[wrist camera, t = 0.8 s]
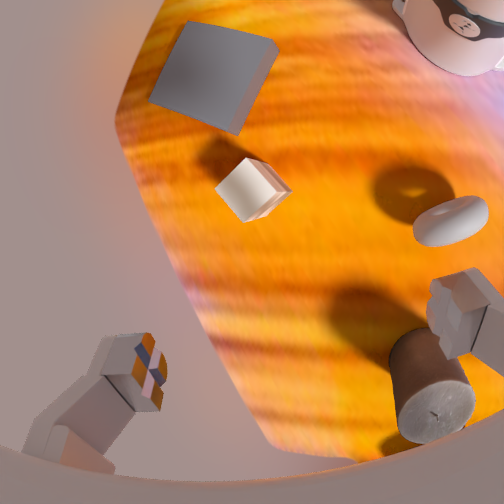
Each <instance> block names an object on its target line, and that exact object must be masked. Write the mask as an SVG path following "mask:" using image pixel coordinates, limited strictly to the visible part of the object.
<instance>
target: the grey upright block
mask: <svg viewBox="0 0 504 504" xmlns="http://www.w3.org/2000/svg"><path fill="white" fill-rule="evenodd" d="M215 190H216V191H217V192H218V194H219V195H220V196H221V197H222V198H223V200H224V201H225V202H226V203H227V204H228V205H229V207H230V208H231V209H232V210H233V211H234V213H235V214H236V215H237V216H238V217H239V218H240V220H241V221H242V222H243V223H245V222H248V221H251V220H254V219H258V218H261V217H265V216H266V215H268V214H269V213H270V212H271V211H272V210H273V209H274V208H275V207H276V206H278V205H279V204H280V203H281V202H282V201H283V200H284V199H285V198H286V197H288V196H289V195H290V194H291V193H292V192H293V191H292V190H291V189H290V188H289V186H288V185H287V184H286V183H285V182H284V181H283V180H282V178H281V177H280V176H279V175H278V174H277V173H276V172H275V171H274V170H273V168H272V167H271V166H270V165H269V164H267V163H264V162H260V161H257V160H253V159H250V158H245V159H244V160H243V161H242V162H241V163H240V164H239V165H238V166H237V167H236V168H235V169H234V170H233V171H232V172H231V173H230V174H229V175H228V176H227V177H226V178H225V179H224V180H223V181H222V182H221V183H220V184H219V185H218V186H217V187H216V188H215Z"/></svg>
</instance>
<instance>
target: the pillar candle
mask: <svg viewBox="0 0 504 504" xmlns="http://www.w3.org/2000/svg"><path fill="white" fill-rule="evenodd" d="M439 340H440V337H439V336H437V335H436V334H434V333H432V331H431V329H430V328H420V329H416V330H413V331H411V332H408V333H407V334H405V335H403V336H402V337H401V338H400V339H399V340H398V341H397V342H396V343H395V344H394V347H393V348H392V350H391V353H390V356H389V367H390V369H391V371H390V372H391V378H392V384H393V394H394V400H395V410H396V417H397V426H398V429H399V431H400V433H401V435H402V436H403V437H404V438H405V439H407V440H409V441H411V442H414V443H420V444H426V443H429V442H431V441H434V440H437V439H439V438H442V437H444V436H447V435H449V434H452V433H454V432H457V431H459V430H461V429H462V428H463V426H464V425H465V424H466V422H467V421H468V420H469V418H470V417H471V416H472V415H471V414H472V413H473V411H474V407H475V402H476V400H475V393H474V391H473V389H472V387H471V385H470V383H469V381H468V379H467V377H466V375H465V373H464V370H463V369H462V367H461V365H460V363H459V361H458V359H457V357H455V358H452V359H449V360H447V358H446V356H445V354H444V352H443V351H442V349H441V347H440V345H439Z"/></svg>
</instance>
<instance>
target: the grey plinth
mask: <svg viewBox="0 0 504 504" xmlns="http://www.w3.org/2000/svg"><path fill="white" fill-rule="evenodd" d="M278 53H279V49H278V48H277V46H276V44H275V43H274V41H273V40H272V39H269V38H266V37H262V36H258V35H254V34H250V33H246V32H242V31H238V30H234V29H229V28H225V27H220V26H215V25H210V24H204V23H198V22H192V21H188V22H187V23H186V25H185V27H184V29H183V31H182V32H181V34H180V36H179V38H178V40H177V42H176V44H175V46H174V47H173V49H172V51H171V53H170V55H169V57H168V59H167V61H166V63H165V65H164V67H163V69H162V72H161V74H160V76H159V78H158V80H157V82H156V84H155V87H154V89H153V91H152V93H151V96H150V98H149V100H148V102H150V103H153V104H156V105H159V106H162V107H165V108H167V109H170V110H173V111H176V112H178V113H181V114H184V115H186V116H189V117H192V118H194V119H197V120H199V121H202V122H204V123H207V124H209V125H212V126H214V127H217V128H219V129H222V130H224V131H227V132H229V133H231V134H234V135H236V136H238V135H239V133H240V131H241V128H242V126H243V124H244V122H245V120H246V118H247V116H248V114H249V112H250V109H251V107H252V105H253V103H254V101H255V99H256V97H257V95H258V93H259V91H260V89H261V87H262V85H263V83H264V81H265V79H266V77H267V75H268V73H269V71H270V69H271V67H272V65H273V63H274V61H275V59H276V57H277V55H278Z"/></svg>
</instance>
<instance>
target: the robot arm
mask: <svg viewBox="0 0 504 504" xmlns="http://www.w3.org/2000/svg"><path fill="white" fill-rule="evenodd" d="M402 1H405V2H402ZM392 8H393V9H394V11H395V12H396V13H397V14H398V15H399V16H400V18H401V19H402V20H403V21H404V23H405V26H406V29H407V32H408V34H409V36H410V38H411V40H412V41H413V43H414V44H415V46H416V47H417V48H418V50H419V51H420V52H421V53H422V54H423V55H424V56H425V57H426V58H427V59H429V60H430V61H431V62H433V63H434V64H436V65H437V66H439V67H440V68H442V69H444V70H446V71H448V72H451V73H454V74H457V75H462V76H476V75H480V74H483V73H485V72H487V71H489V70H495V71H504V0H393V3H392ZM429 291H430V293H431V294H432V297H431V299H430V300H429V301H428V303H427V309H426V315H427V321H428V324H429V327H430V329H431V331H432V333H434V334H436V335H437V336H439V337H440V340H439V345H440V347H441V349H442V351H443V352H444V354H445V356H446V358H447V360H449V359H452V358H455V357H458V356H461V355H464V354H467V353H469V352H471V354H472V355H474V356H475V357H477V358H478V359H480V360H481V361H482V362H484V363H485V364H487V365H488V366H489V367H491V368H492V369H494V370H495V371H496V372H498V373H499V374H501V375H502V376H503V377H504V298H503V297H502V296H501V295H500V294H499V292H498V291H497V290H496V289H495V288H494V287H493V285H492V284H491V283H490V282H489V281H488V280H487V279H486V278H485V276H484V275H483V274H482V273H481V272H480V271H479V270H478V269H477V268H474V267H473V268H470V269H467V270H464V271H461V272H458V273H454V274H451V275H447V276H444V277H440V278H436V279H433V280H432V282H431V284H430V290H429ZM154 345H155V340H154V338H153V337H152V335H151V334H150V333H134V334H120V335H111V336H105V337H103V338H102V339H101V342H100V344H99V346H98V348H97V351H96V353H95V355H94V358H93V360H92V362H91V365H90V367H89V370H88V372H87V375H86V376H81V377H80V378H79V379H78V380H77V381H76V382H75V383H74V384H72V385H71V386H70V387H69V388H68V389H67V390H66V391H65V392H63V393H62V394H61V395H60V396H59V397H58V398H57V399H56V400H55V401H54V402H53V403H51V404H50V405H49V406H48V407H47V408H46V409H45V410H44V411H43V412H41V413H40V414H39V415H38V416H37V417H36V418H35V419H34V421H33V423H32V426H31V428H30V431H29V433H28V436H27V439H26V441H25V444H24V447H23V449H22V452H18V451H15V450H12V449H9V448H7V447H4V446H1V445H0V504H504V409H503V410H501V411H499V412H497V413H495V414H493V415H491V416H489V417H487V418H485V419H483V420H481V421H479V422H477V423H475V424H472V425H470V426H468V427H466V428H463V429H461V430H459V431H457V432H454V433H452V434H449V435H447V436H444V437H442V438H439V439H437V440H434V441H431V442H429V443H426V444H423V445H420V446H418V447H415V448H412V449H409V450H406V451H402V452H399V453H396V454H393V455H389V456H386V457H382V458H379V459H375V460H371V461H367V462H363V463H359V464H355V465H351V466H346V467H341V468H337V469H332V470H327V471H321V472H315V473H309V474H302V475H295V476H287V477H279V478H269V479H257V480H244V481H243V480H242V481H205V482H204V481H173V480H172V481H171V480H158V479H147V478H137V477H129V476H121V475H114V472H115V466H114V464H113V463H112V462H110V461H109V460H108V459H106V458H105V457H104V456H103V455H104V453H105V452H106V451H107V450H108V448H109V447H110V446H111V445H112V443H113V442H114V440H115V439H116V438H117V437H118V435H119V434H120V433H121V431H122V430H123V429H124V428H125V426H126V425H127V424H128V423H129V421H130V420H131V419H132V417H133V416H134V415H135V412H152V411H153V412H154V411H160V409H161V404H162V399H163V394H164V393H163V391H162V390H161V388H160V387H161V386H162V385H163V384H164V383H165V382H166V379H167V363H166V360H165V357H164V355H163V354H162V352H161V351H160V350H158V349H156V348H155V347H154Z"/></svg>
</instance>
